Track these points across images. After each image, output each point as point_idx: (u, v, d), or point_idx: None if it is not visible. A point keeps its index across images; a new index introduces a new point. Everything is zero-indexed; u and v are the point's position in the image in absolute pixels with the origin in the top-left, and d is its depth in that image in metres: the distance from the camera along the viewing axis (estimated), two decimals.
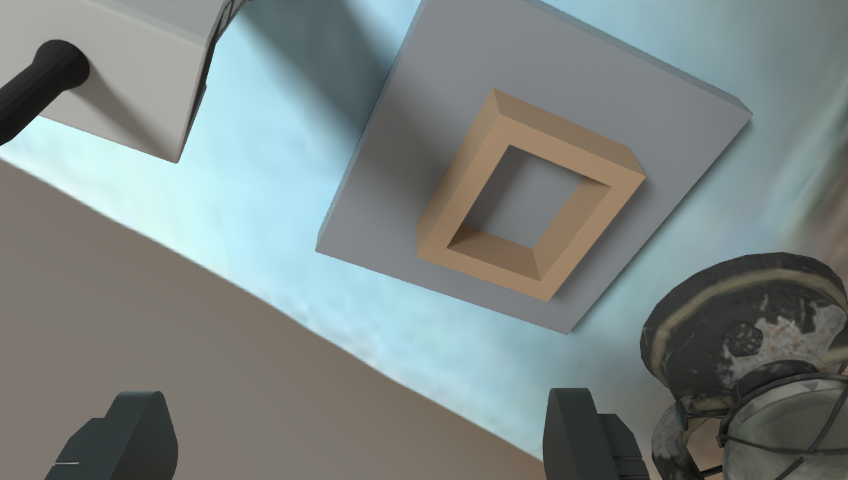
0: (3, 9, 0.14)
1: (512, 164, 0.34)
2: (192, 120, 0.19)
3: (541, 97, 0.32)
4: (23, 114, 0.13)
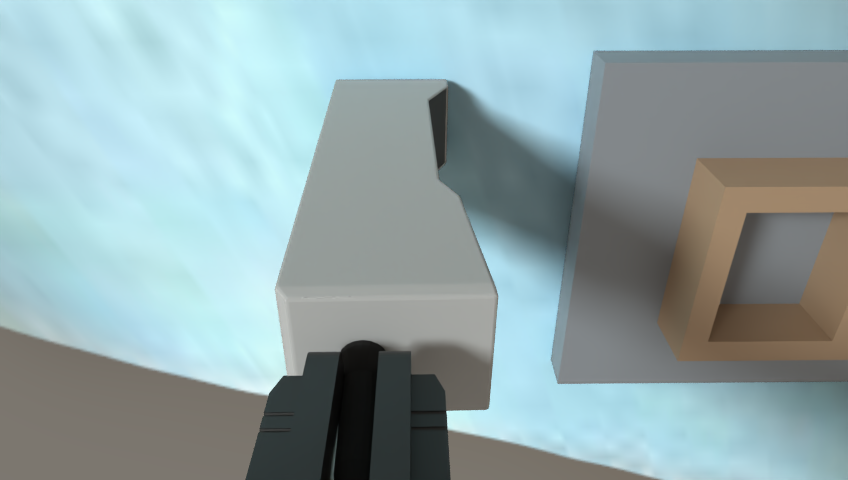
0: (299, 334, 0.14)
1: (745, 225, 0.30)
2: None
3: (756, 147, 0.28)
4: None
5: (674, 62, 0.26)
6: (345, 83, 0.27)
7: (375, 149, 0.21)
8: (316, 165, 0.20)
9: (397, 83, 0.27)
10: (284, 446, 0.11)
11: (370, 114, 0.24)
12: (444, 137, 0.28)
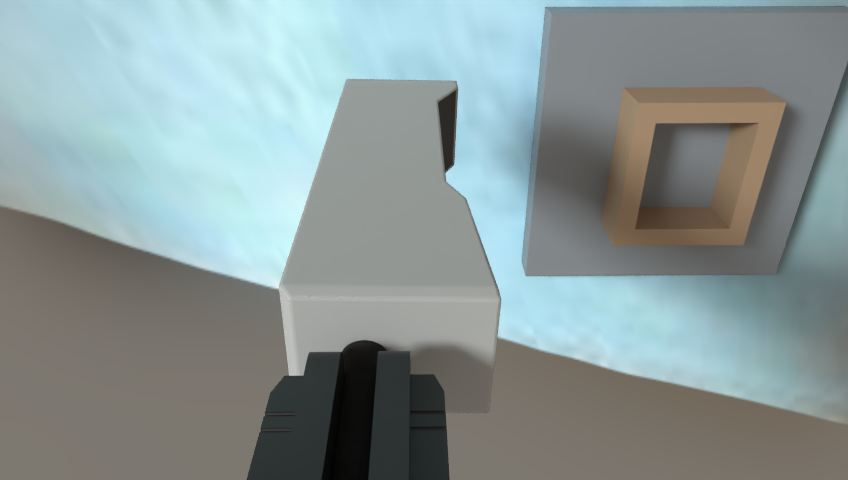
0: (302, 333, 0.14)
1: (664, 141, 0.39)
2: None
3: (667, 78, 0.37)
4: None
5: (602, 13, 0.36)
6: (355, 82, 0.27)
7: (383, 149, 0.21)
8: (324, 164, 0.20)
9: (407, 83, 0.27)
10: (284, 446, 0.11)
11: (379, 115, 0.24)
12: (453, 139, 0.28)
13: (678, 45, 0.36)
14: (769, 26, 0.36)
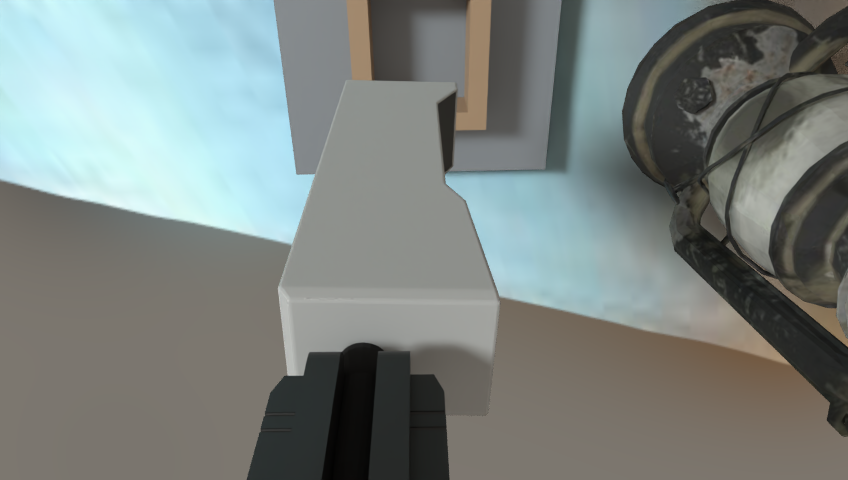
0: (301, 335, 0.14)
1: (402, 26, 0.40)
2: None
3: None
4: None
5: None
6: (355, 83, 0.27)
7: (382, 150, 0.21)
8: (323, 165, 0.20)
9: (407, 85, 0.27)
10: (285, 446, 0.11)
11: (379, 116, 0.24)
12: (452, 140, 0.28)
13: None
14: None
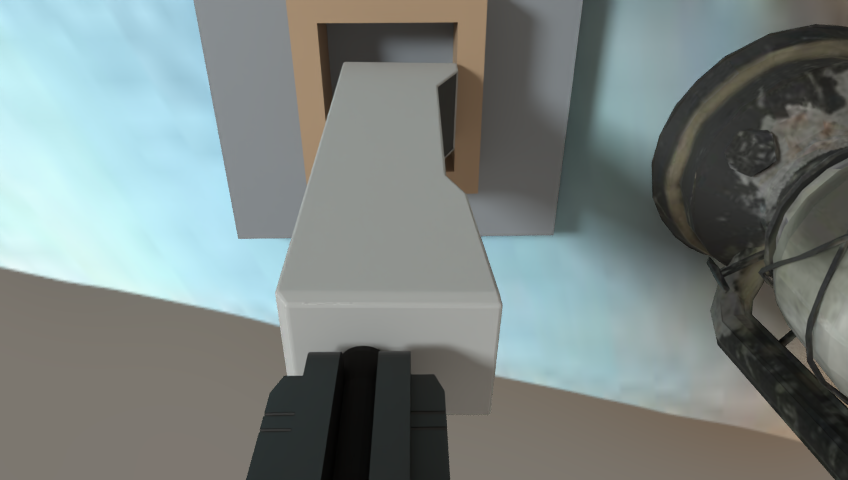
0: (300, 339, 0.14)
1: (369, 57, 0.30)
2: None
3: None
4: None
5: None
6: (353, 66, 0.26)
7: (381, 140, 0.20)
8: (321, 157, 0.19)
9: (406, 67, 0.26)
10: (285, 446, 0.11)
11: (378, 101, 0.23)
12: (453, 123, 0.28)
13: None
14: None
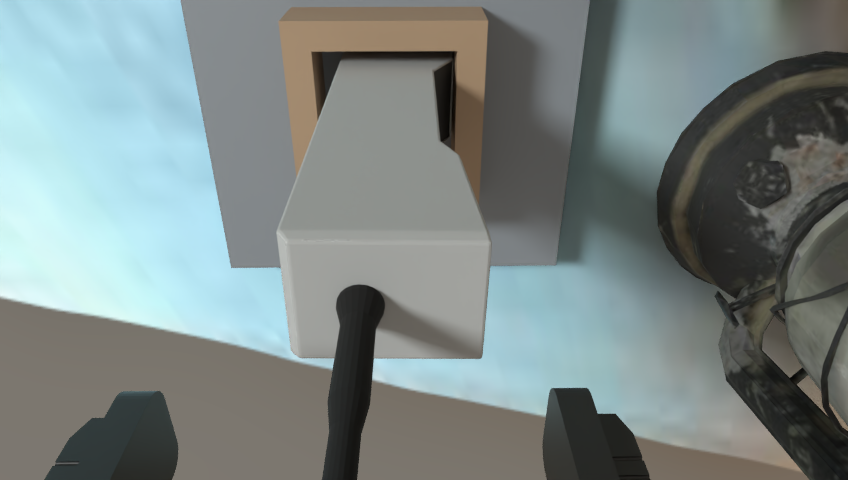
0: (299, 277, 0.15)
1: None
2: None
3: None
4: (369, 382, 0.13)
5: None
6: (352, 54, 0.28)
7: (379, 113, 0.21)
8: (321, 126, 0.20)
9: (404, 55, 0.28)
10: None
11: (376, 82, 0.24)
12: (449, 110, 0.29)
13: None
14: None
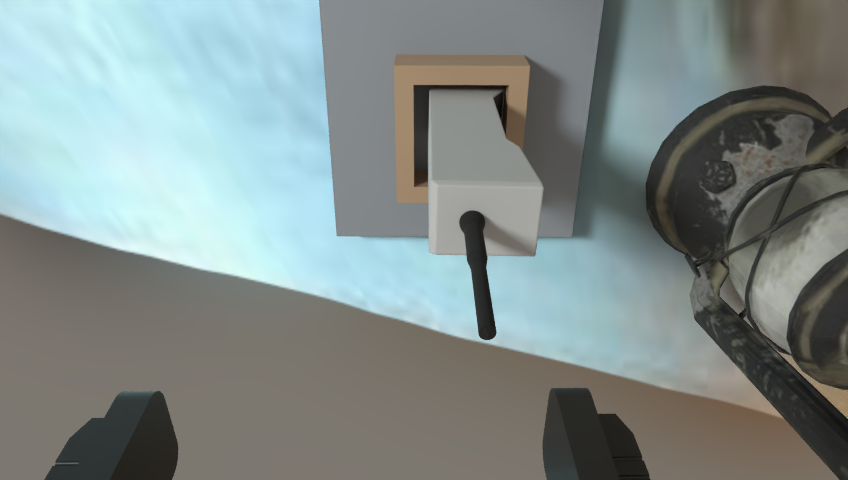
0: (441, 205, 0.28)
1: None
2: None
3: (434, 46, 0.41)
4: (485, 249, 0.26)
5: None
6: (436, 85, 0.41)
7: (466, 123, 0.34)
8: (433, 130, 0.33)
9: (471, 86, 0.41)
10: None
11: (458, 104, 0.37)
12: None
13: (439, 14, 0.40)
14: None
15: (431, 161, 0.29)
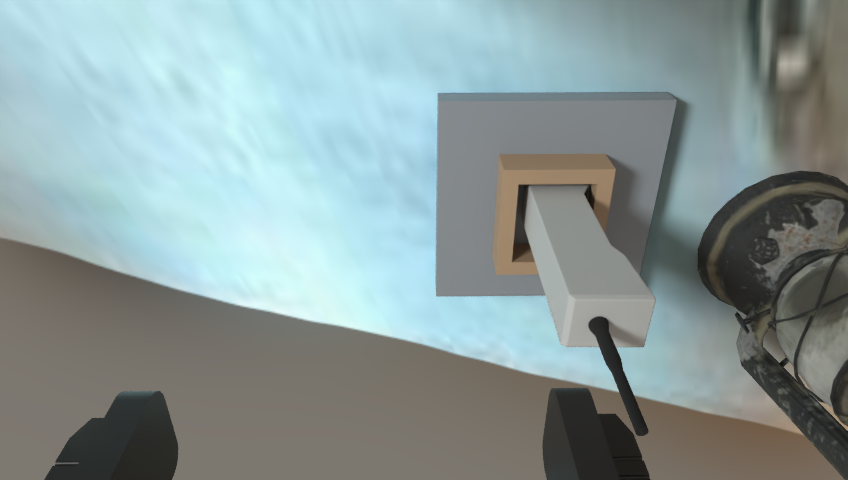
0: (576, 313, 0.36)
1: None
2: None
3: (532, 147, 0.49)
4: (618, 354, 0.34)
5: (477, 101, 0.47)
6: None
7: (573, 227, 0.43)
8: (550, 236, 0.41)
9: None
10: None
11: (559, 204, 0.46)
12: None
13: (537, 123, 0.48)
14: (605, 110, 0.47)
15: (561, 273, 0.38)
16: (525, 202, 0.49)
